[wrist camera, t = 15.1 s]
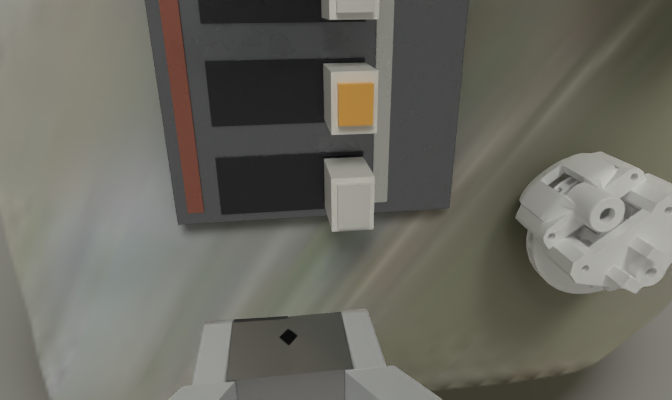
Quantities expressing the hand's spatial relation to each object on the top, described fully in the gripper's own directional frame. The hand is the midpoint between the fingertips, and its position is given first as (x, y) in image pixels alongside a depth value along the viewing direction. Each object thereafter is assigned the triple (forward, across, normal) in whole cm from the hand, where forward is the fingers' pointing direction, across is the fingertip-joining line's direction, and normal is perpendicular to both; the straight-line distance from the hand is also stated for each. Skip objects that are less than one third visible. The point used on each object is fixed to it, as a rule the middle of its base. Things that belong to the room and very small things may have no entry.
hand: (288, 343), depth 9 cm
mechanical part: (+29, -25, +11) cm, 40 cm away
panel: (+29, -3, 0) cm, 29 cm away
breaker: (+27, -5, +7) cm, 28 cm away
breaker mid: (+27, -5, 0) cm, 28 cm away
